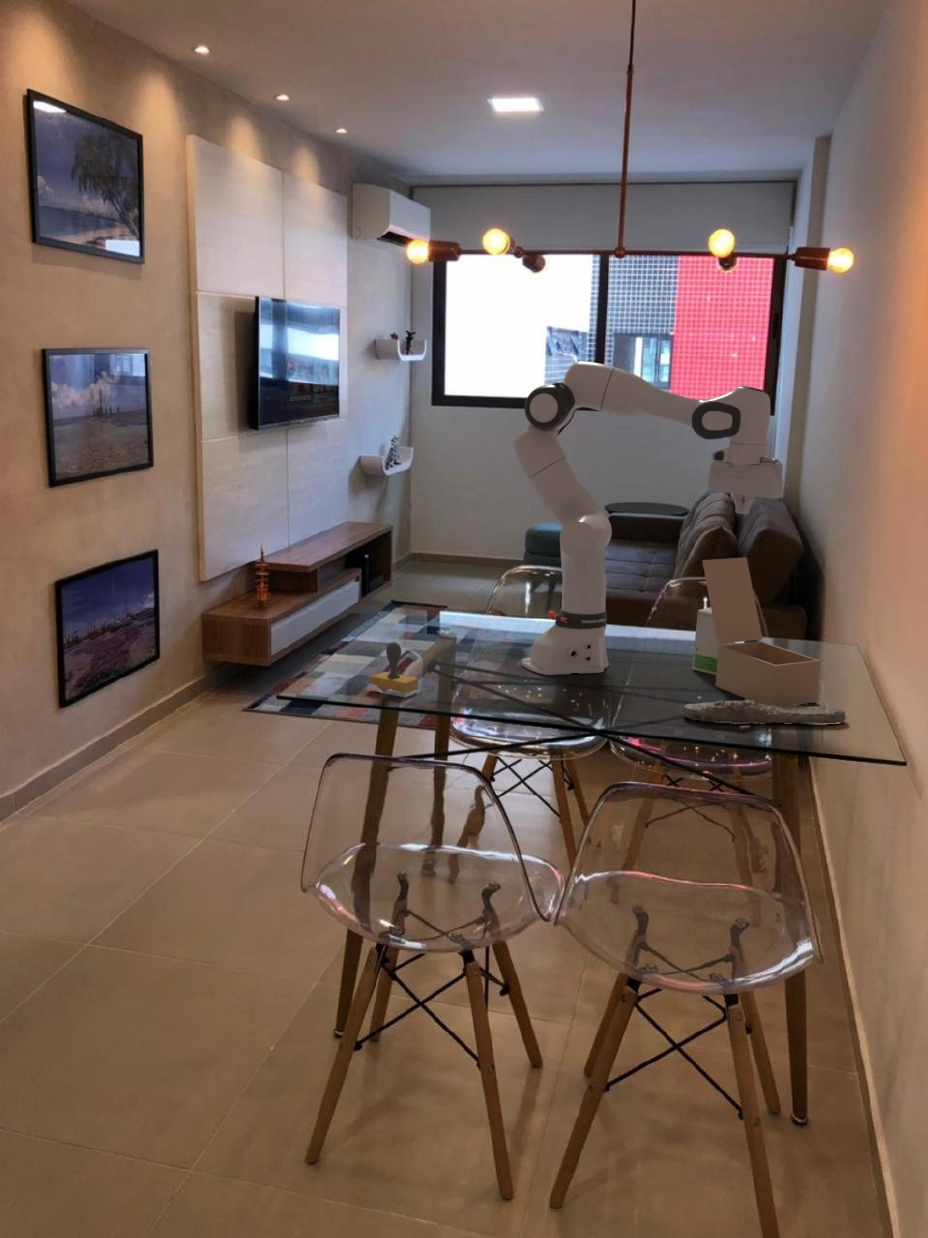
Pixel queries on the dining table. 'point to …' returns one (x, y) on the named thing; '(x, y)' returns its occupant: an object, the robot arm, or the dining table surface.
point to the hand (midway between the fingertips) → (742, 513)
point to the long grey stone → (761, 712)
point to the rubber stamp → (394, 673)
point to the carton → (767, 673)
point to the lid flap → (732, 600)
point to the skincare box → (706, 643)
